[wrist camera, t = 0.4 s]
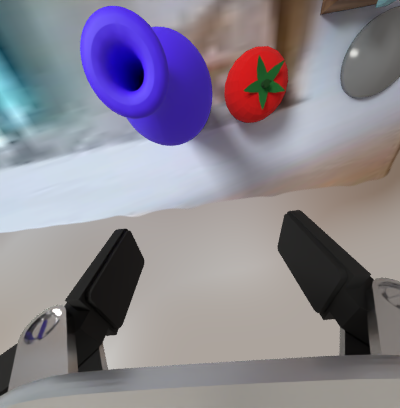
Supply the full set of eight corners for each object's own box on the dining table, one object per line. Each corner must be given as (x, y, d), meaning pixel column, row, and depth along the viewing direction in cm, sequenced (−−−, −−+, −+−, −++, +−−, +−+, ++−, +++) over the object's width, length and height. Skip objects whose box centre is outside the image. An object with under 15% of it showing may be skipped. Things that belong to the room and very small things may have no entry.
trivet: (355, 16, 25) (361, 13, 24) (431, 2, 24) (440, -2, 23) (331, 102, 31) (335, 101, 30) (392, 92, 30) (398, 92, 29)
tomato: (232, 131, 33) (244, 136, 25) (212, 79, 29) (219, 63, 20) (278, 105, 31) (309, 101, 22) (264, 43, 26) (298, 7, 18)
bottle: (206, 86, 29) (279, -153, 3) (202, 132, 33) (220, 185, 8) (164, 81, 29) (-138, -246, 3) (165, 128, 33) (50, 172, 7)
